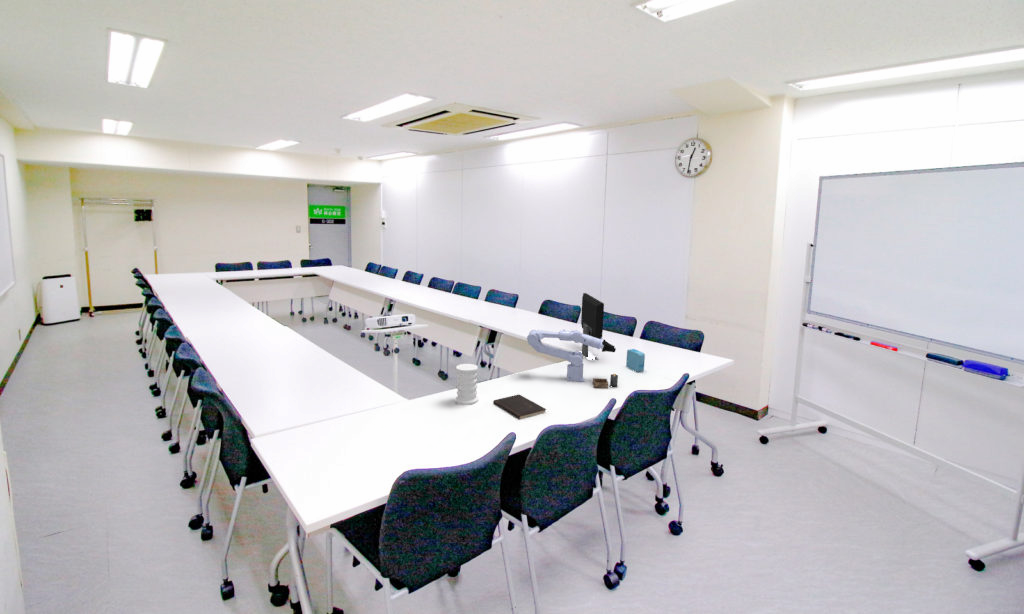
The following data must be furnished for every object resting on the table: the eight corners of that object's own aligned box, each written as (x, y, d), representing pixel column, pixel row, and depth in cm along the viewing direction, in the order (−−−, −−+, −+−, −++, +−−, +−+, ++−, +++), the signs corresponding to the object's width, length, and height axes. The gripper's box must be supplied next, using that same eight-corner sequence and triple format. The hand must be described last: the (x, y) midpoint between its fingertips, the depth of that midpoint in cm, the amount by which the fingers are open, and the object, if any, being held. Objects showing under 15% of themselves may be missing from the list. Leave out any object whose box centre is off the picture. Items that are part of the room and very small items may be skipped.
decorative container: (478, 396, 257) (479, 363, 253) (477, 405, 245) (477, 370, 242) (456, 396, 257) (456, 363, 253) (454, 404, 245) (454, 370, 242)
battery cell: (610, 387, 274) (611, 375, 273) (609, 385, 278) (610, 373, 277) (617, 387, 274) (618, 375, 272) (616, 385, 278) (617, 373, 276)
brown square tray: (594, 387, 273) (594, 382, 272) (592, 383, 280) (592, 378, 279) (607, 388, 272) (608, 383, 272) (606, 383, 280) (606, 378, 279)
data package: (643, 372, 302) (645, 353, 300) (637, 372, 300) (639, 354, 298) (631, 366, 313) (632, 348, 310) (625, 367, 311) (627, 349, 309)
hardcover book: (519, 398, 257) (519, 394, 256) (546, 413, 238) (546, 409, 238) (493, 404, 248) (493, 400, 247) (519, 420, 229) (519, 416, 229)
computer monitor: (604, 364, 315) (607, 303, 308) (591, 364, 314) (594, 303, 307) (586, 347, 355) (588, 292, 348) (574, 347, 354) (577, 293, 347)
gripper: (594, 336, 273) (618, 344, 272) (593, 333, 288) (615, 340, 287) (590, 348, 274) (614, 356, 273) (589, 344, 289) (611, 352, 287)
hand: (614, 349), depth 280 cm, fingers open, 7 cm apart
